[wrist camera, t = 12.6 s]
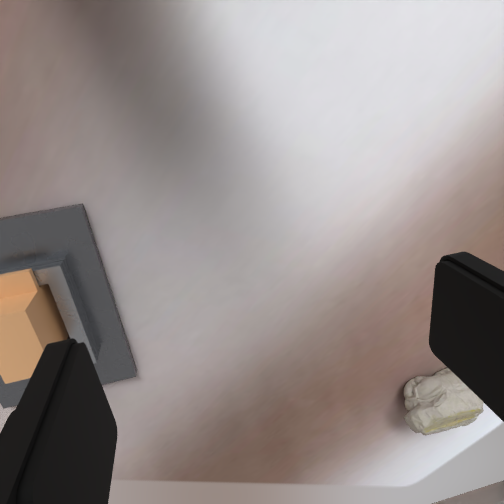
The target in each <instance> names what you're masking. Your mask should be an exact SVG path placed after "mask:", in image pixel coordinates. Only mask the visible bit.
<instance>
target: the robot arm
mask: <svg viewBox="0 0 504 504" xmlns="http://www.w3.org/2000/svg"><path fill="white" fill-rule="evenodd" d="M429 345H430V348H431V350H432V352H433V353H434V355H435V356H436V357H437V358H438V359H439V360H441V361H442V362H443V363H444V364H445V365H446V366H447V367H448V368H449V369H450V370H451V371H452V372H453V373H454V374H455V375H456V376H457V377H458V378H459V379H460V380H461V381H462V382H463V383H464V384H465V385H466V386H467V387H468V388H469V389H470V390H471V391H473V392H474V393H475V394H476V395H477V396H478V397H479V398H480V399H481V400H482V401H483V402H484V403H485V404H486V405H487V406H488V407H489V408H490V409H491V410H492V411H493V412H494V413H495V414H496V415H497V416H498V417H499V418H500V419H501V420H502V421H504V271H502V270H500V269H498V268H496V267H495V266H493V265H491V264H489V263H487V262H485V261H483V260H481V259H479V258H477V257H475V256H474V255H472V254H470V253H467V252H459V253H455V254H450V255H446V256H443V257H442V258H441V259H440V262H439V263H437V265H436V268H435V278H434V289H433V300H432V312H431V323H430V334H429ZM116 443H117V426H116V422H115V419H114V416H113V414H112V411H111V408H110V406H109V403H108V400H107V398H106V395H105V393H104V390H103V387H102V385H101V382H100V380H99V377H98V374H97V372H96V369H95V367H94V364H93V361H92V359H91V356H90V353H89V351H88V348H87V346H86V344H85V343H84V342H81V343H78V342H77V341H76V340H75V339H74V338H71V339H67V340H62V341H58V342H53V343H49V344H47V345H46V347H45V349H44V351H43V353H42V355H41V357H40V359H39V361H38V363H37V365H36V368H35V370H34V372H33V374H32V376H31V378H30V380H29V382H28V384H27V387H26V389H25V391H24V393H23V395H22V397H21V399H20V401H19V403H18V405H17V408H16V410H14V411H13V412H12V413H11V414H10V416H9V417H8V419H7V421H6V423H5V425H4V427H3V429H2V431H1V433H0V504H108V499H109V492H110V485H111V478H112V471H113V464H114V457H115V450H116ZM433 504H504V481H501V482H497V483H494V484H491V485H488V486H485V487H482V488H479V489H476V490H473V491H470V492H467V493H464V494H460V495H458V496H454V497H451V498H448V499H445V500H442V501H439V502H436V503H433Z"/></svg>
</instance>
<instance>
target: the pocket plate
mask: <svg viewBox="0 0 504 504" xmlns="http://www.w3.org/2000/svg"><path fill="white" fill-rule="evenodd" d="M30 268H31V269H32V271H33V273H34V276H35V278H36V280H37V283H38V285H39V286H40V285H45V284H49V287H50V289H51V292H52V294H53V297H54V299H55V302H56V304H57V307H58V309H59V312H60V314H61V317H62V319H63V322H64V324H65V327H66V329H67V332H68V334H69V335H68V338H67V339H71V338H74V339H75V340H76V341H77V342H78V343H81V342H84V343H85V344H86V346H87V348H88V351H89V353H90V356H91V359H92V361H93V364H94V367H95V369H96V372H97V374H98V377H99V380H100V382H101V385H103V384H107V383H111V382H115V381H120V380H124V379H128V378H132V377H136V373H137V370H136V367H135V364H134V360H133V357H132V354H131V351H130V348H129V345H128V342H127V339H126V336H125V333H124V330H123V327H122V324H121V320H120V317H119V314H118V311H117V308H116V305H115V302H114V299H113V296H112V293H111V290H110V287H109V283H108V280H107V277H106V274H105V271H104V268H103V265H102V262H101V259H100V256H99V253H98V250H97V247H96V243H95V240H94V237H93V234H92V231H91V228H90V225H89V222H88V219H87V216H86V213H85V210H84V207H83V204H78V205H72V206H67V207H61V208H55V209H49V210H44V211H38V212H32V213H26V214H21V215H15V216H9V217H3V218H0V274H5V273H10V272H15V271H20V270H25V269H30ZM29 380H30V378H28V379H24V380H20V381H16V382H12V383H7V384H5V383H4V381H3V379H2V377H1V375H0V403H1V405H2V407H3V409H4V408H8V407H12V406H16V405H18V403H19V401H20V399H21V397H22V395H23V393H24V391H25V389H26V387H27V384H28V382H29Z"/></svg>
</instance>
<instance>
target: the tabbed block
mask: <svg viewBox="0 0 504 504" xmlns="http://www.w3.org/2000/svg"><path fill="white" fill-rule="evenodd" d="M68 335H69V334H68V332H67V329H66V327H65V324H64V322H63V319H62V317H61V314H60V312H59V309H58V307H57V304H56V302H55V299H54V297H53V294H52V292H51V289H50V287H49V284H45V285H40V286H39V285H38V283H37V280H36V278H35V276H34V273H33V271H32V269H31V268H30V269H25V270H20V271H15V272H10V273H5V274H0V375H1V377H2V379H3V381H4V383H5V384H7V383H12V382H16V381H20V380H24V379H28V378H31V376H32V374H33V372H34V370H35V368H36V365H37V363H38V361H39V359H40V357H41V355H42V353H43V351H44V349H45V347H46V345H47V344H49V343H53V342H58V341H62V340H67V338H68Z"/></svg>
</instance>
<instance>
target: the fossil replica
mask: <svg viewBox="0 0 504 504" xmlns="http://www.w3.org/2000/svg"><path fill="white" fill-rule="evenodd" d="M404 397H405V398H406V399H405V402H404V403H405V407H406V409H407V410H408V411H409V412H408V413H407V414H406V415H405V417H404V419H405V420H406V423H407V424H408V426H409V427H410V429H411V430H413V431H414V432H415V433H420V432H421V433H422V434H423V435H429V434H433V433H439V432H442V431H446V430H449V429H451V428H457V427H460V426H466V425H469V424H470V423H472V422H473V421H475V420H476V419H477V417H478V415H479V414H480V413H482V412H483V401H482V400H481V399H480V398H479V397H478V396H477V395H476V394H475V393H474V392H473V391H471V390H470V389H469V388H468V387H467V386H466V385H465V384H464V383H463V382H462V381H461V380H460V379H459V378H458V377H457V376H456V375H455V374H454V373H453V372H452V371H451V370H450V369H449V368H448V367H447V368H446V369H443V370H441V371H439V372H437V373H435V374H434V375H433V376H429V377H425V376H416V377H415V378H413V379H411V380H409V381H408V382H407V383H406V385H405V387H404Z"/></svg>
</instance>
